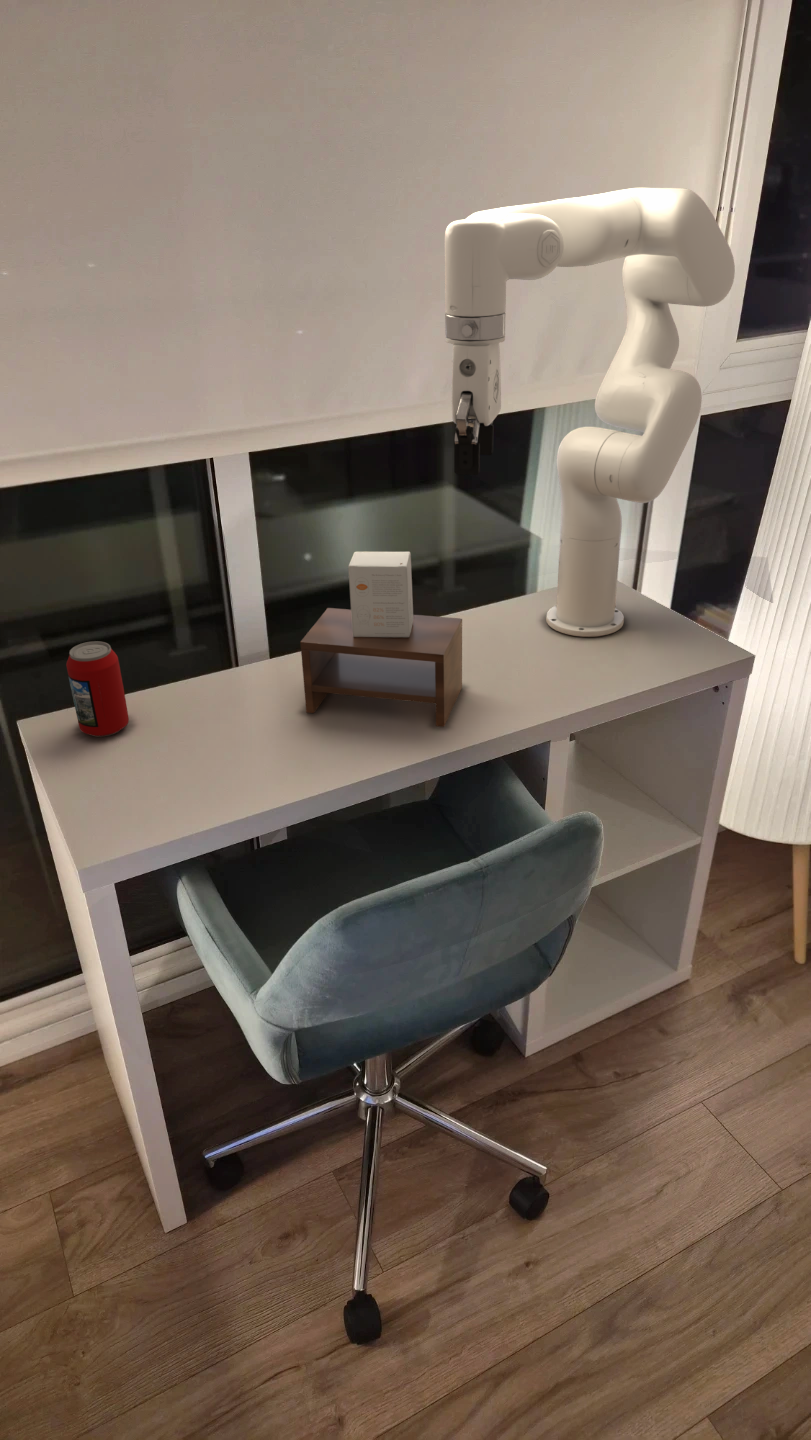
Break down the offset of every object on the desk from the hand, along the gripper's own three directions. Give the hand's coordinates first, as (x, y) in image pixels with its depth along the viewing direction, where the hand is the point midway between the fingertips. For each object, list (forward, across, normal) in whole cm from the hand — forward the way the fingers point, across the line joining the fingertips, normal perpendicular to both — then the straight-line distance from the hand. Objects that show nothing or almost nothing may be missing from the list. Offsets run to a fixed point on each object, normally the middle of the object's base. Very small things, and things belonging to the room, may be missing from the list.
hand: (474, 463), depth 138 cm
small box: (+21, -9, +11) cm, 26 cm away
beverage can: (+32, -25, +47) cm, 62 cm away
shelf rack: (+32, -9, +11) cm, 35 cm away
